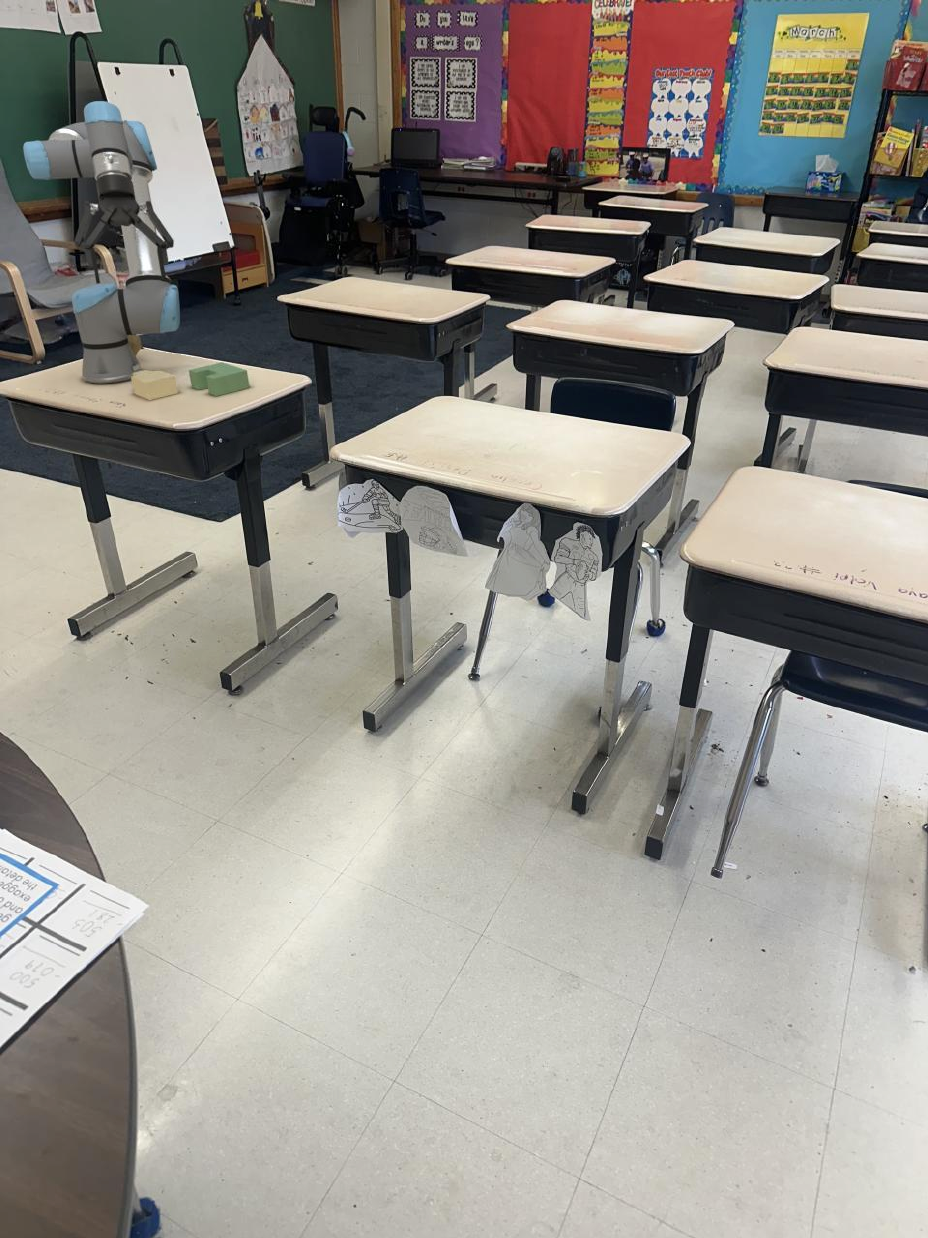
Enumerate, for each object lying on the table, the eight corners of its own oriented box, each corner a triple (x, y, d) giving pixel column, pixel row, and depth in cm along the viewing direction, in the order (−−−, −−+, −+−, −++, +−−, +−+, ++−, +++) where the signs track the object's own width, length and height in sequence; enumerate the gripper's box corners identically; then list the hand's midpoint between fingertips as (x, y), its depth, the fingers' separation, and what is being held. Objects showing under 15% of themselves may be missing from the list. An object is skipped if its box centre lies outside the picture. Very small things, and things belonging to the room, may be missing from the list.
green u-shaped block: (191, 387, 225) (188, 369, 222) (224, 378, 231) (221, 361, 228) (216, 396, 217) (213, 378, 215) (249, 387, 223) (246, 370, 221)
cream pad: (149, 400, 216) (145, 382, 213) (129, 391, 222) (125, 374, 220) (178, 392, 220) (174, 375, 218) (157, 384, 227) (153, 367, 225)
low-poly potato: (94, 359, 252) (82, 349, 241) (101, 322, 252) (90, 311, 240) (146, 372, 254) (137, 363, 243) (153, 335, 254) (145, 325, 243)
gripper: (49, 171, 177) (67, 275, 179) (174, 172, 185) (191, 272, 187) (53, 188, 184) (71, 288, 186) (173, 188, 192) (190, 284, 194)
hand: (131, 280), depth 186 cm, fingers open, 13 cm apart
